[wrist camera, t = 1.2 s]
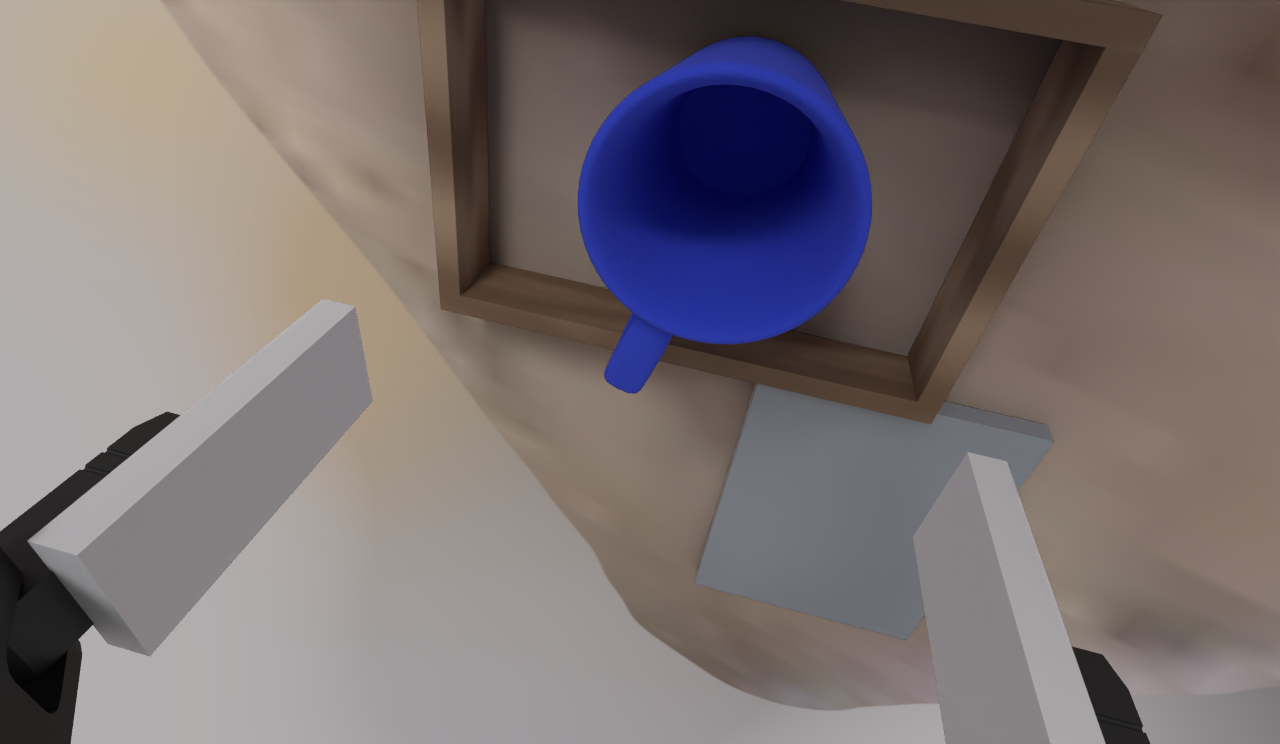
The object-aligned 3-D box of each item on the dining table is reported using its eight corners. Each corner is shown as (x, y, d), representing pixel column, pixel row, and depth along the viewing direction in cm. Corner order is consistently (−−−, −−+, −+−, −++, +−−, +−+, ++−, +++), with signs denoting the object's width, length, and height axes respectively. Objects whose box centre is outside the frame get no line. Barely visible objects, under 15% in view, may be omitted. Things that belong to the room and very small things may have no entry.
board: (762, 358, 32) (761, 372, 31) (1046, 424, 30) (1054, 441, 30) (696, 568, 43) (694, 583, 42) (903, 623, 41) (905, 640, 40)
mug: (585, 239, 30) (506, 356, 22) (702, -34, 23) (645, -3, 15) (736, 317, 31) (711, 458, 23) (897, 78, 23) (943, 164, 15)
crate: (456, -112, 23) (408, -115, 20) (1115, 1, 21) (1162, 15, 18) (472, 275, 32) (440, 309, 30) (919, 377, 30) (930, 424, 28)
